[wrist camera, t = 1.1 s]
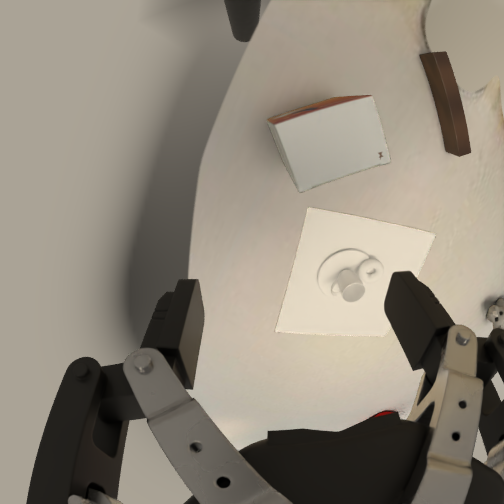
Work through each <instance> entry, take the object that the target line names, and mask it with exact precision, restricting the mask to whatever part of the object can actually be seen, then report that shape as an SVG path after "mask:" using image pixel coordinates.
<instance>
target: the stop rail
mask: <svg viewBox="0 0 504 504" xmlns="http://www.w3.org/2000/svg"><path fill="white" fill-rule="evenodd" d="M420 58H421V61H422V63H423V66H424V69H425V72H426V75H427V78H428V81H429V84H430V87H431V90H432V94H433V97H434V101H435V104H436V108H437V112H438V116H439V120H440V125H441V129H442V134H443V139H444V144H445V149H446V152H448V153H451V154H454V155H456V156H459V157H460V156H463V155H466V154H469V153H471V148H470V141H469V135H468V129H467V124H466V119H465V114H464V110H463V106H462V101H461V97H460V94H459V90H458V86H457V83H456V79H455V77H454V73H453V70H452V67H451V64H450V61H449V58H448V55H447V52H433V53H427V54H422V55H420Z"/></svg>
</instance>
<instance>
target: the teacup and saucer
mask: <svg viewBox="0 0 504 504" xmlns="http://www.w3.org/2000/svg"><path fill="white" fill-rule="evenodd" d="M343 267H344V268H352V270H351V269H343V270H342V268H343ZM384 273H385V267H384V265H383V263H382V262H381V261H380V260H378V259H376V258H370V257H369V256H368V255H367V254H366V253H365V252H363V251H361V250H358V249H345V250H341V251H338V252H336V253H334V254H333V255H331V256H330V257H329V258H328V259H327V260H326V261H325V262H324V263H323V264H322V265H321V267H320V269H319V271H318V274H317V286H318V288H319V290H320V291H321V293H322V294H323V295H324V296H326V297H327V298H329V299H332V300H338V301H342V300H343V301H344V302H346V303H349V304H353V303H356V302H358V301H360V300H361V299H362V298H363V297H364V296H365V294H366V288H367V287H368V286H369V284H374V283H376V282H378V281H379V280H380V279H381V278H382V277H383V275H384Z"/></svg>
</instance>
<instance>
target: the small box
mask: <svg viewBox="0 0 504 504" xmlns="http://www.w3.org/2000/svg"><path fill="white" fill-rule="evenodd" d="M267 123H268V125H269V128H270V131H271V133H272V136H273V138H274V141H275V143H276V146H277V148H278V151H279V153H280V155H281V158H282V160H283V163H284V165H285V167H286V169H287V171H288V173H289V175H290V177H291V178H292V180H293V182H294V184H295V186H296V188H297V190H298V192H299V193H303V192H305V191H307V190H310V189H312V188H315V187H317V186H320V185H323V184H325V183H328V182H331V181H334V180H337V179H340V178H343V177H346V176H349V175H352V174H355V173H358V172H361V171H364V170H367V169H371V168H374V167H377V166H382V165H386V164H390V163H391V160H390V156H389V151H388V147H387V143H386V139H385V135H384V131H383V128H382V124H381V121H380V117H379V114H378V111H377V108H376V105H375V102H374V99H373V96H372V95H363V96H345V97H334V98H330V99H327V100H324V101H321V102H318V103H315V104H311V105H308V106H305V107H302V108H298V109H295V110H292V111H289V112H286V113H283V114H280V115H277V116H275V117H272V118H269V119H267Z"/></svg>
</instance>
